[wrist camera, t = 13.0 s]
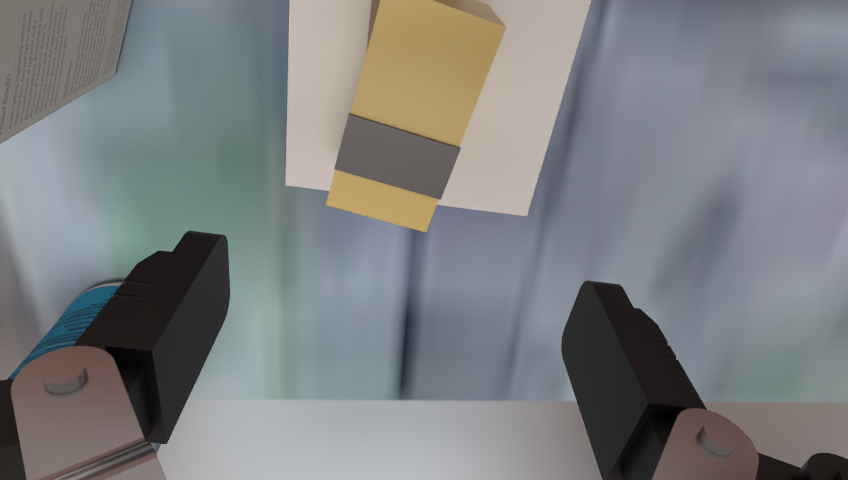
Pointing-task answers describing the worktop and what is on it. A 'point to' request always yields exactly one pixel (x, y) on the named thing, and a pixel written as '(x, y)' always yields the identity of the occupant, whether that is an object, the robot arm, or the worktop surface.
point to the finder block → (413, 107)
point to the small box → (54, 55)
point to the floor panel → (492, 117)
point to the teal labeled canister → (74, 325)
